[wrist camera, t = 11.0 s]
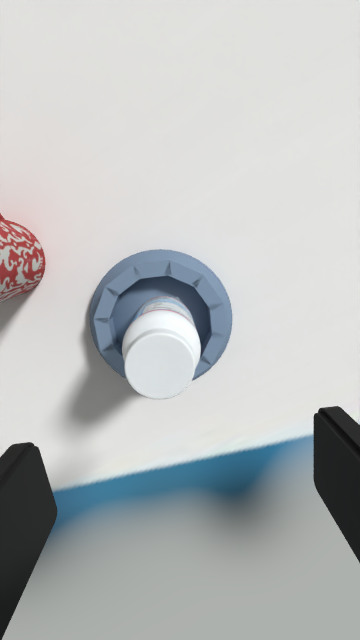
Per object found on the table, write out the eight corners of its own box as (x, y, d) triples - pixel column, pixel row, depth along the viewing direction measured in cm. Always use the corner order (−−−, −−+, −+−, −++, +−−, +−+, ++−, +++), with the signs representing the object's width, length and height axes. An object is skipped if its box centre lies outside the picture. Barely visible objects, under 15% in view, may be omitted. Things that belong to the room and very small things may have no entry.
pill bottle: (163, 361, 29) (157, 427, 18) (123, 321, 27) (91, 365, 17) (204, 325, 28) (225, 371, 17) (166, 282, 27) (162, 302, 16)
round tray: (224, 241, 27) (230, 239, 24) (234, 373, 31) (240, 386, 28) (79, 259, 27) (68, 259, 24) (107, 389, 31) (100, 403, 28)
